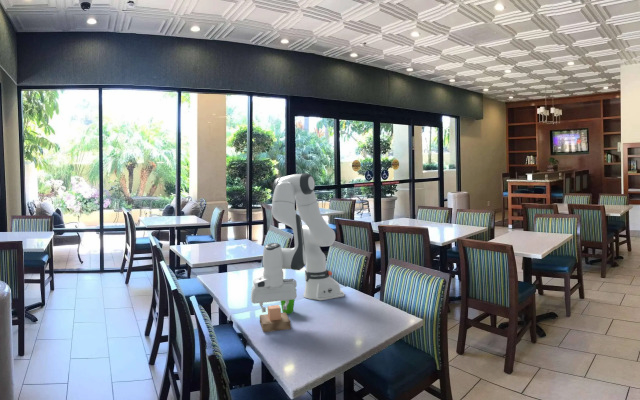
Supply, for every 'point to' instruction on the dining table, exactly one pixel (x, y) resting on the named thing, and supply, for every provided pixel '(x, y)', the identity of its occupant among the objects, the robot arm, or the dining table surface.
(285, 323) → the base slab
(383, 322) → the dining table surface
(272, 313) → the cube
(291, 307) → the cup
